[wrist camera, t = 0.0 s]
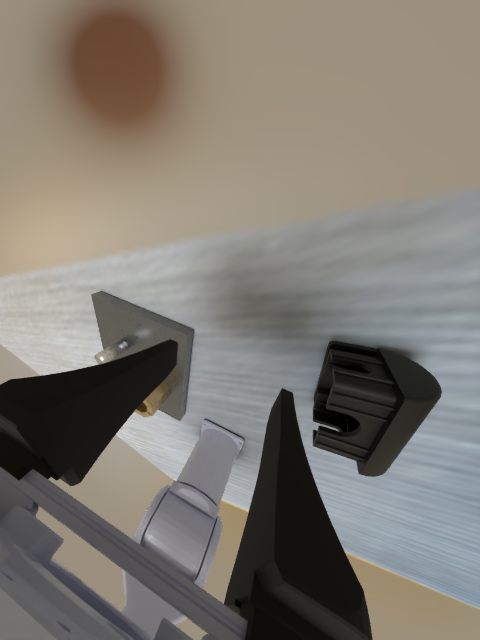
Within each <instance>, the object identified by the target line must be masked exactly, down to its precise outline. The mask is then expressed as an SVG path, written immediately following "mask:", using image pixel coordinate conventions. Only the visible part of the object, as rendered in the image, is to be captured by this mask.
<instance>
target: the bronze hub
mask: <svg viewBox="0 0 480 640" xmlns="http://www.w3.org/2000/svg"><path fill="white" fill-rule="evenodd" d="M169 396H170V387H169V386H168V384H167V383H166V382H165V381H163V382H162V383H161V384H160V385H159V386H158V387H157V388H156V389H155V390H154V391H153V392H152V393H151V394H150V395H149V396H148V397H147V398H146V399H145V400H144V401H143V402H142V403H141V404H140V405H139V406H138V407H137V409H136V410H135V411H134V412H136V413H138V414H140V415H142V416H143V417H148V416H153V415H154V413H155V412H156V411H157V410H158V409H159V407H160V406H161V405H162V404H163V403H164V401H165V400H166V399H167V398H168V397H169Z"/></svg>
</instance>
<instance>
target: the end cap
mask: <svg viewBox="0 0 480 640" xmlns="http://www.w3.org/2000/svg"><path fill="white" fill-rule="evenodd" d="M441 393H442V391H441V387H440V385H439V383H438V381H437V380H436V379H435V377H434V376H433V375H432V374H431V373H430V372H428V371H427V370H426V369H425V368H423V367H422V366H420V365H419V364H417V363H416V362H414V361H412V360H410V359H408V358H406V357H404V356H402V355H399V354H396V353H394V352H390V351H387V350H383V349H375V348H371V347H365V346H359V345H354V344H348V343H343V342H337V341H333V342H330V343H329V345H328V348H327V352H326V355H325V359H324V363H323V366H322V370H321V373H320V377H319V381H318V384H317V388H316V391H315V395H314V407H313V421H314V422H317V423H320V424H324V425H327V426H330V427H334V428H336V429H338V430H339V431H340V432H339V431H336V430H332V429H329V428H326V427H323V426H319V427H318V430H317V431H316V430H313V446H314V447H317V448H320V449H323V450H326V451H329V452H332V453H335V454H338V455H341V456H344V457H347V458H349V459H352V460H355V461H356V462H357V467H358V472H359V474H361V475H364V476H372V477H375V476H380V475H382V474H383V473H385V472H386V471H387V470H388V468H389V467H390V466H391V464H392V463H393V462H394V460H395V459H396V457H397V456H398V455H399V453H400V452H401V451H402V449H403V448H404V447H405V445H406V444H407V442H408V441H409V440H410V438H411V437H412V436H413V434H414V433H415V432H416V430H417V429H418V427H419V426H420V425H421V423H422V422H423V421H424V419H425V418H426V417H427V415H428V414H429V412H430V411H431V410H432V408H433V407H434V406H435V404H436V403H437V402H438V400H439V399H440V397H441Z"/></svg>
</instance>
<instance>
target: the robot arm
mask: <svg viewBox="0 0 480 640" xmlns="http://www.w3.org/2000/svg"><path fill="white" fill-rule="evenodd" d="M177 353H178V342H176V341H174V340H171V339H169V340H167V341H164V342H162V343H159V344H157V345H154V346H152V347H149V348H147V349H144V350H142V351H139V352H137V353H134V354H131V355H128V356H125V357H122V358H119V359H116V360H113V361H110V362H106V363H103V364H99V365H95V366H91V367H87V368H82V369H78V370H73V371H68V372H62V373H57V374H50V375H44V376H36V377H28V378H20V379H11V380H8V381H7V382H5V383H3V384H1V385H0V640H193V639H192V638H191V637H189V636H188V635H187V634H185V633H184V632H183V631H181V630H180V629H179V628H178V627H176V626H175V625H177V624H179V623H181V622H182V621H184V620H186V619H189V620H191V621H192V622H193V623H195V624H196V625H197V626H199V627H200V628H201V629H203V630H204V631H205V632H207V633H208V634H209V635H208V634H207V635H205V636H203V638H202V639H201V640H372V633H371V626H370V620H369V615H368V609H367V605H366V601H365V595H364V591H363V589H362V587H361V585H360V583H359V581H358V579H357V577H356V574H355V573H354V570H353V568H352V566H351V564H350V562H349V560H348V558H347V556H346V554H345V552H344V550H343V548H342V545H341V543H340V541H339V539H338V537H337V534H336V532H335V530H334V528H333V525H332V523H331V521H330V518H329V516H328V514H327V511H326V509H325V506H324V504H323V501H322V499H321V497H320V494H319V492H318V489H317V486H316V483H315V481H314V478H313V475H312V472H311V469H310V466H309V463H308V460H307V457H306V454H305V450H304V446H303V443H302V439H301V435H300V431H299V426H298V422H297V417H296V411H295V405H294V398H293V393H292V392H290V391H287V390H285V389H283V388H282V389H281V391H280V393H279V395H278V397H277V399H276V401H275V403H274V405H273V407H272V409H271V412H270V416H269V420H268V423H267V428H266V434H265V440H264V446H263V452H262V458H261V464H260V469H259V474H258V478H257V482H256V486H255V490H254V494H253V498H252V502H251V506H250V510H249V513H248V517H247V521H246V525H245V528H244V532H243V536H242V539H241V543H240V547H239V550H238V554H237V557H236V561H235V564H234V568H233V571H232V575H231V578H230V582H229V586H228V589H227V593H226V598H225V602H224V604H223V603H221V602H220V601H219V600H217V599H216V598H214V597H213V596H212V595H210V594H209V593H207V592H206V591H205V590H203V587H204V585H205V582H206V580H207V577H208V575H209V571H210V569H211V566H212V563H213V559H214V556H215V553H216V550H217V546H218V543H219V539H220V536H221V532H222V522H221V517H219V516H217V514H218V511H219V504H220V501H221V499H222V496H223V493H224V490H225V487H226V484H227V481H228V478H229V475H230V472H231V469H232V466H233V465H234V463H235V461H236V459H237V457H238V454H239V452H240V450H241V448H242V446H243V444H244V439H242V438H240V437H239V436H237V435H235V434H233V433H231V432H229V431H227V430H225V429H223V428H221V427H219V426H217V425H215V424H213V423H211V422H209V421H207V420H203V423H202V428H201V433H200V438H199V440H198V442H197V444H196V446H195V448H194V449H193V451H192V453H191V455H190V457H189V459H188V461H187V463H186V464H185V466H184V468H183V470H182V472H181V474H180V476H179V477H178V479H177V481H174V482H173V483H172V486H169V485H167V486H165V487H164V488H162V489H161V490H160V491H159V492H158V493H157V495H156V496H155V498H154V499H153V501H152V502H151V504H150V506H149V507H148V509H147V511H146V513H145V515H144V516H143V518H142V520H141V522H140V525H139V527H138V529H137V532H136V534H135V536H134V538H133V539H131V538H130V537H128V536H127V535H125V534H124V533H123V532H121V531H120V530H118V529H117V528H116V527H114V526H113V525H111V524H110V523H108V522H107V521H106V520H104V519H103V518H101V517H100V516H99V515H97V514H96V513H94V512H93V511H92V510H90V509H89V508H87V507H86V506H85V505H83V504H82V503H80V502H79V501H78V500H76V499H75V498H73V497H72V496H70V495H69V494H68V493H66V492H65V491H63V490H62V489H61V488H59V487H58V486H56V485H55V484H54V483H52V482H51V481H49V480H48V479H49V478H50V477H52V478H54V479H55V480H58V479H61V480H63V481H64V482H66V483H67V484H69V485H70V486H74V485H76V484H78V483H80V482H81V481H82V480H83V478H84V477H85V475H86V474H87V473H88V471H89V470H90V468H91V467H92V466H93V464H94V463H95V461H96V460H97V458H98V457H99V456H100V454H101V453H102V452H103V450H104V449H105V448H106V446H107V445H108V444H109V442H110V441H111V440H112V438H113V437H114V436H115V434H116V433H117V432H118V431H119V429H120V428H121V427H122V426H123V424H124V423H125V422H126V421H127V419H128V418H129V417H130V416H131V415H132V413H133V412H134V411H135V410H136V409H137V407H138V406H139V405H140V404H141V403H142V402H143V401H144V400H145V399H146V398H147V397H148V396H149V395H150V394H151V393H152V392H153V391H154V390H155V389H156V388H157V387H158V386H159V385H160V384H161V383H162V382H163V381H164V380H165V379H166V378H167V377H168V375H169V374H170V373H171V372H172V370H173V369H174V368H175V366H176V365H177ZM38 506H40V507H41V508H42V509H44V510H45V511H46V512H48V513H49V514H50V515H52V516H53V517H54V518H56V519H57V520H58V521H60V522H61V523H62V524H63V525H65V526H66V527H67V528H69V529H70V530H72V531H73V532H74V533H75V534H77V535H78V536H79V537H81V538H82V539H83V540H85V541H86V542H87V543H89V544H90V545H91V546H93V547H94V548H95V549H97V550H98V551H100V552H101V553H102V554H103V555H105V556H106V557H107V558H109V559H110V560H111V561H112V562H114V563H115V564H116V565H118V566H119V567H121V568H122V569H123V582H124V592H125V606H124V608H123V610H122V612H121V611H119V610H118V609H117V608H116V607H115V606H113V605H112V604H111V603H110V602H108V601H107V600H106V599H105V598H103V597H102V596H101V595H100V594H98V593H97V592H96V591H95V590H93V589H92V588H91V587H89V586H88V585H87V584H86V583H84V582H83V581H82V580H81V579H79V578H78V577H76V576H75V575H74V574H73V573H72V572H70V571H69V570H68V569H66V568H65V567H64V566H63V565H61V564H60V563H59V562H57V561H56V560H55V559H53V558H52V556H53V554H54V553H55V552H56V551H57V550H58V548H59V547H60V546H61V544H62V543H63V538H61V537H60V536H59V535H57V534H56V533H55V532H54V531H52V530H51V529H50V528H49V527H47V526H46V525H45V524H43V523H42V522H41V521H40V520H38V519H37V518H36V513H37V511H38ZM216 517H217V518H216ZM215 520H216V521H215Z"/></svg>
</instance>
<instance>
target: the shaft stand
mask: <svg viewBox="0 0 480 640" xmlns="http://www.w3.org/2000/svg"><path fill="white" fill-rule="evenodd" d="M91 296H92V300H93V305H94V309H95V314H96V318H97V323H98V327H99V332H100V336H101V340H102V345H103V349H104V350H103V351H101V352H100V353H98V354H96V355H95V359H96V361H97V362H98V363H99V364H103V363H106V362H110V361H113V360H116V359H119V358H122V357H125V356H128V355H131V354H134V353H137V352H139V351H142V350H144V349H147V348H149V347H152V346H154V345H157V344H159V343H162V342H164V341H167V340H169V339H171V340H174V341H176V342H178V353H177V365H176V366H175V368H174V369H173V370H172V372H171V373H170V374H169V375H168V377H167V378H166V379H165V380H164V381H165V382H166V383H167V384H168V386H169V387H170V396H169V397H168V398H167V399H166V400H165V401H164V403H163V404H162V405H161V406H160V407H159V409H158V410H160V411H162V412H164V413H166V414H168V415H170V416H171V417H173V418H175V419H177V420H179V421H180V420H181V419H182V417H183V416H184V414H185V408H186V398H187V389H188V379H189V370H190V360H191V351H192V342H193V332H194V330H193V329H191V328H189V327H186V326H184V325H181V324H179V323H177V322H174V321H172V320H169V319H167V318H165V317H162V316H160V315H157V314H155V313H153V312H150V311H148V310H145V309H143V308H140V307H138V306H136V305H133V304H131V303H128V302H126V301H124V300H121V299H119V298H116V297H114V296H112V295H109V294H107V293H104V292H102V291H100V292H97V293H94V294H91Z"/></svg>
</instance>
